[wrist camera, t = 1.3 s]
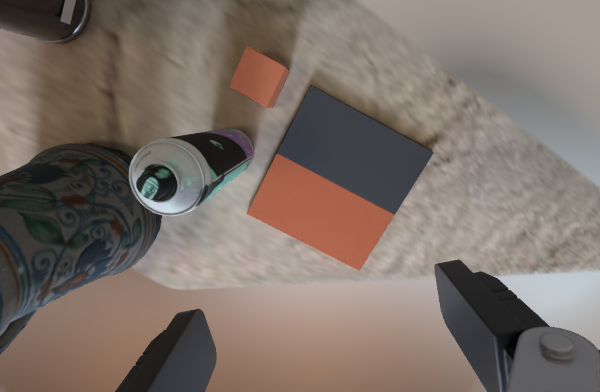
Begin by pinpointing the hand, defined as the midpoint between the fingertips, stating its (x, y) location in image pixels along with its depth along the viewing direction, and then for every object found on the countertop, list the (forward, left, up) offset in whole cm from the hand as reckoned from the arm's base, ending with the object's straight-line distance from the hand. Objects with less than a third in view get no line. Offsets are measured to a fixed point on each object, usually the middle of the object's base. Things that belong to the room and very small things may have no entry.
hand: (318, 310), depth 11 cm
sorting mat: (+3, 0, -29) cm, 30 cm away
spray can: (-10, -3, -30) cm, 31 cm away
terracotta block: (-10, +6, -29) cm, 32 cm away
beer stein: (-21, -18, -30) cm, 41 cm away
